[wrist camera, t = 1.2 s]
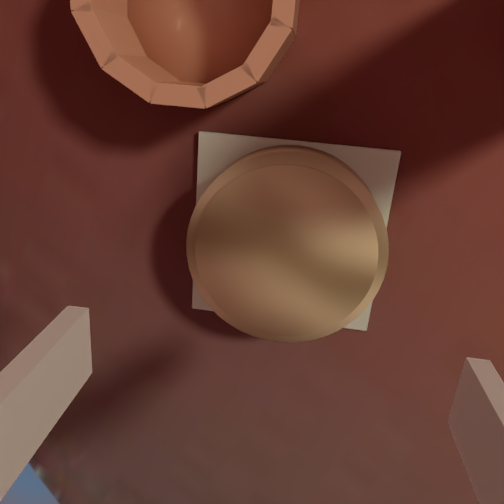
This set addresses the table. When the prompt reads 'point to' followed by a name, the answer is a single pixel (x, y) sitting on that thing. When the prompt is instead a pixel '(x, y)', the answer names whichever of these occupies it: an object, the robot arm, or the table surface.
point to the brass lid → (287, 244)
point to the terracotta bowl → (188, 45)
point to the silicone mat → (358, 158)
